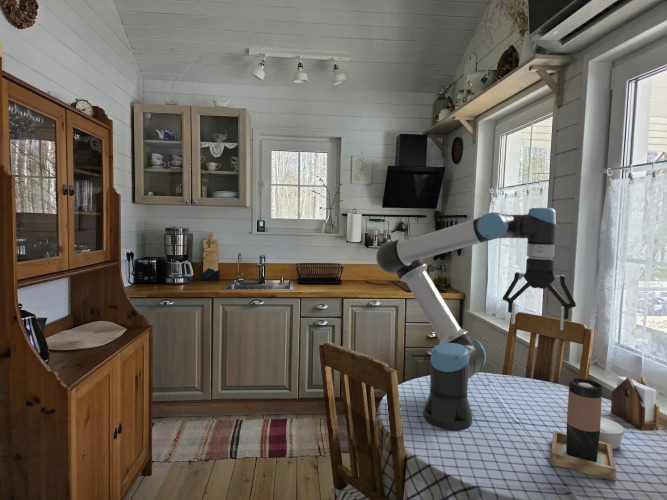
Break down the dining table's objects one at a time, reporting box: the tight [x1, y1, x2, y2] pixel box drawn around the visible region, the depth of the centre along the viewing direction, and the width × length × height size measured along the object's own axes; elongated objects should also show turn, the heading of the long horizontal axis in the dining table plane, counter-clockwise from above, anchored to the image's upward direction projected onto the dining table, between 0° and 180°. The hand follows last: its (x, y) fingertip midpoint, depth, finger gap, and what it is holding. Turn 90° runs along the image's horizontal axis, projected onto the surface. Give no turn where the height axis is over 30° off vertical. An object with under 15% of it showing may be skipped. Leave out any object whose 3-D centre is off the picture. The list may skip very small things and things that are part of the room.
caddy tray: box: [550, 429, 617, 482], centre depth 109 cm, size 14×14×3 cm
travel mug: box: [566, 377, 603, 462], centre depth 109 cm, size 8×8×20 cm
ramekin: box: [599, 416, 625, 450], centre depth 119 cm, size 11×11×5 cm
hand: (536, 326), depth 126 cm, fingers open, 13 cm apart
